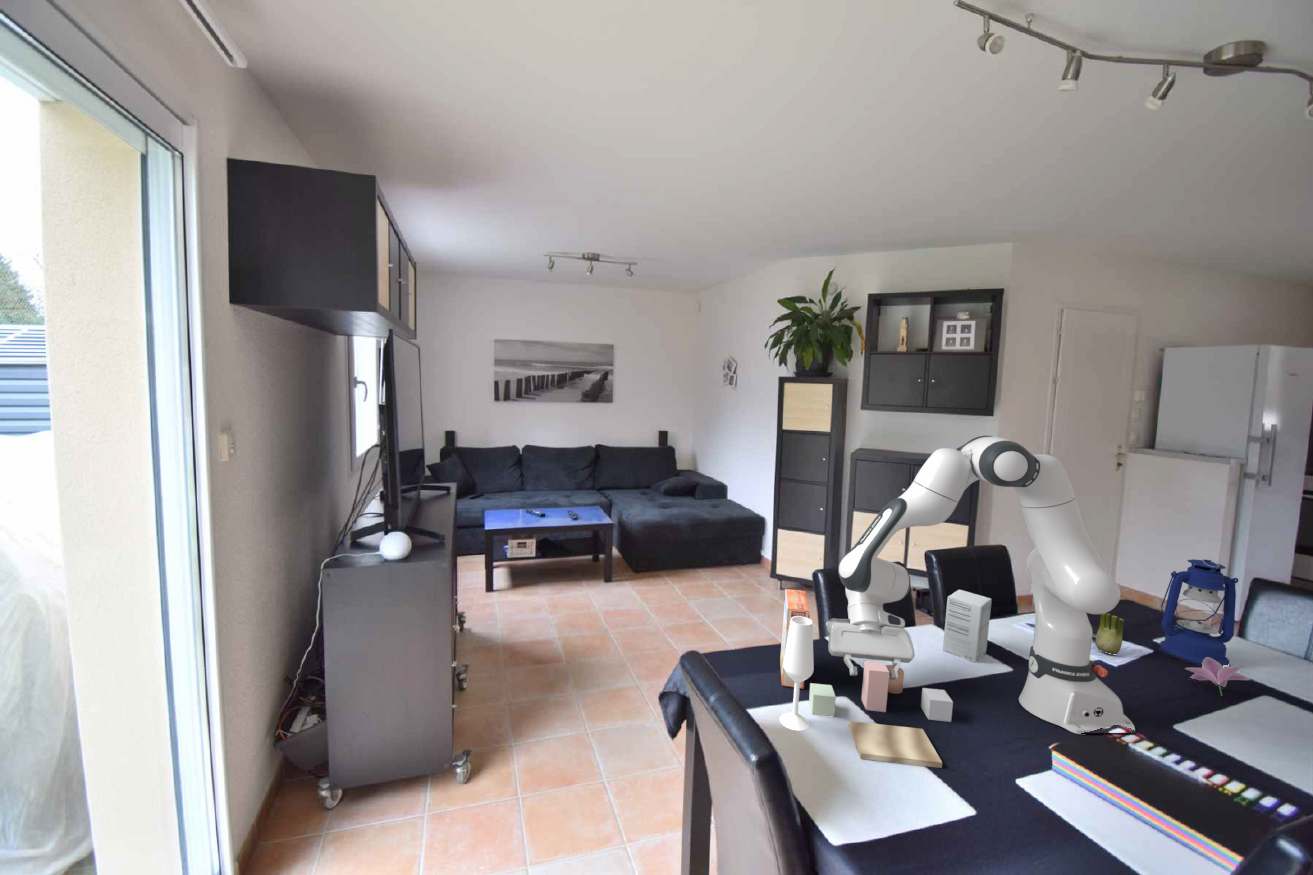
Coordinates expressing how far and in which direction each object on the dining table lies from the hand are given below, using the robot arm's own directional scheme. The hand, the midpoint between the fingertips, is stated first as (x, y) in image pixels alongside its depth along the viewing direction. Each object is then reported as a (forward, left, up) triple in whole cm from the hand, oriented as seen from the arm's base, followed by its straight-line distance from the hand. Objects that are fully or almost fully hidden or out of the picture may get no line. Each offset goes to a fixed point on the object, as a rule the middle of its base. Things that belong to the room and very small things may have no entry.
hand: (873, 677), depth 133 cm
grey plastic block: (-14, +2, -7) cm, 16 cm away
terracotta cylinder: (-7, -8, -7) cm, 13 cm away
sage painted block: (+13, +5, -7) cm, 15 cm away
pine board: (0, +16, -7) cm, 17 cm away
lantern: (-105, -44, -7) cm, 114 cm away
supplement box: (-35, -33, -7) cm, 49 cm away
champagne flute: (+20, +11, -7) cm, 24 cm away
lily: (-94, -23, -7) cm, 97 cm away
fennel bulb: (-79, -41, -7) cm, 89 cm away
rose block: (0, +1, -7) cm, 7 cm away
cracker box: (+18, -10, -7) cm, 22 cm away
